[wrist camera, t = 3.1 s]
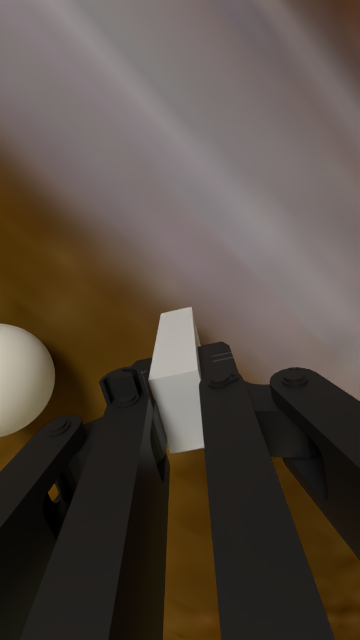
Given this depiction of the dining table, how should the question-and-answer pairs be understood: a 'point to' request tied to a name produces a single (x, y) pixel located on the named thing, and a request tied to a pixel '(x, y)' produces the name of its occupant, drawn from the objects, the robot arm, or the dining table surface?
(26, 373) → the cue ball
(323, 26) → the dining table surface
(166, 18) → the dining table surface
